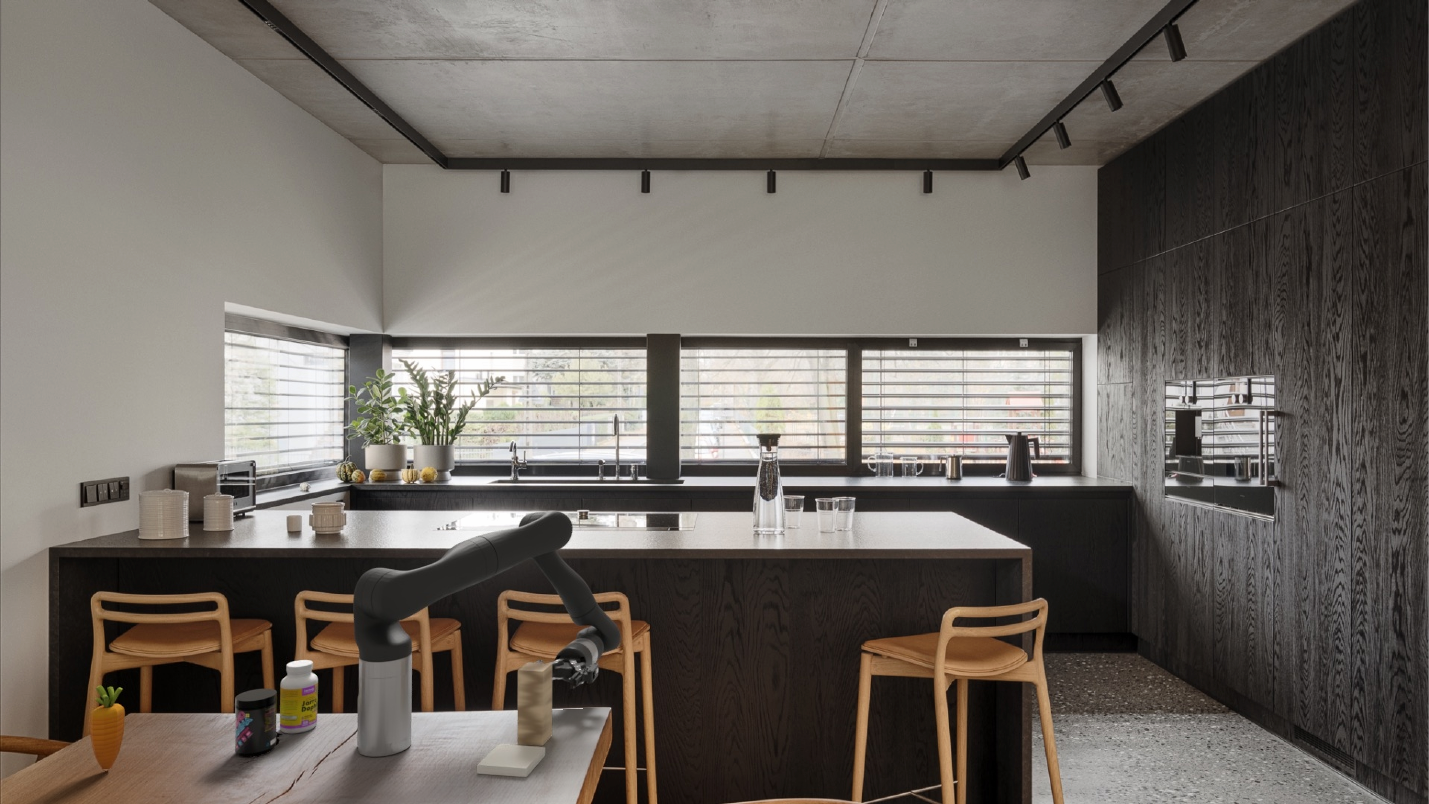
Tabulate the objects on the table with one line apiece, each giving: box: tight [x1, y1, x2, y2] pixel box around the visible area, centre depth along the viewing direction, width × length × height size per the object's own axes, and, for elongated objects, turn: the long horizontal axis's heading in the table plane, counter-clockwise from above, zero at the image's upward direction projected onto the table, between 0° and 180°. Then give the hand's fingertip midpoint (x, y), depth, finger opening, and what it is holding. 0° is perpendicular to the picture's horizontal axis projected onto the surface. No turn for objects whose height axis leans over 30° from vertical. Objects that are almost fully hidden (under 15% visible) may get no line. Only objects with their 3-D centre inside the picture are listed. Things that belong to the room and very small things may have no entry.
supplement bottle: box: [279, 659, 319, 734], centre depth 161 cm, size 7×7×13 cm
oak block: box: [516, 661, 553, 747], centre depth 155 cm, size 5×5×14 cm
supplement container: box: [234, 688, 278, 759], centre depth 150 cm, size 7×7×10 cm
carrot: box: [89, 685, 126, 770], centre depth 141 cm, size 5×5×15 cm
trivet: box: [476, 743, 546, 778], centre depth 144 cm, size 9×9×2 cm
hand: (551, 682), depth 164 cm, fingers open, 8 cm apart
